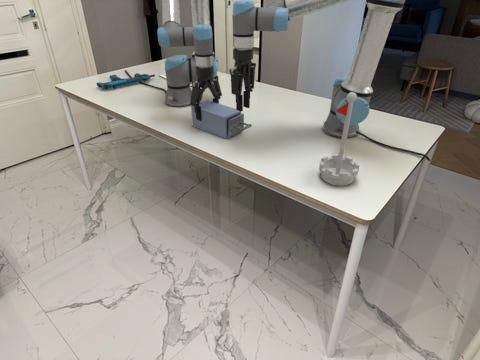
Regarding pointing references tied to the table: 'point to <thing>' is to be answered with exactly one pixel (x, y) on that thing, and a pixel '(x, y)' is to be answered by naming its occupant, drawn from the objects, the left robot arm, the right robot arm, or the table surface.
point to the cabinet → (214, 117)
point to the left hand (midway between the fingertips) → (207, 116)
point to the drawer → (236, 125)
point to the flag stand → (341, 154)
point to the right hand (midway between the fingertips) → (243, 108)
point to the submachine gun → (124, 81)
